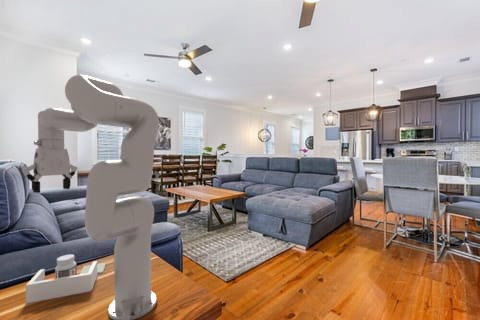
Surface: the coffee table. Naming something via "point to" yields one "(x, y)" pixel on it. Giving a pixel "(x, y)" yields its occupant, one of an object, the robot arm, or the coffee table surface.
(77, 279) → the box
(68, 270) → the pill bottle
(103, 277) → the coffee table surface
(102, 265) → the tile
